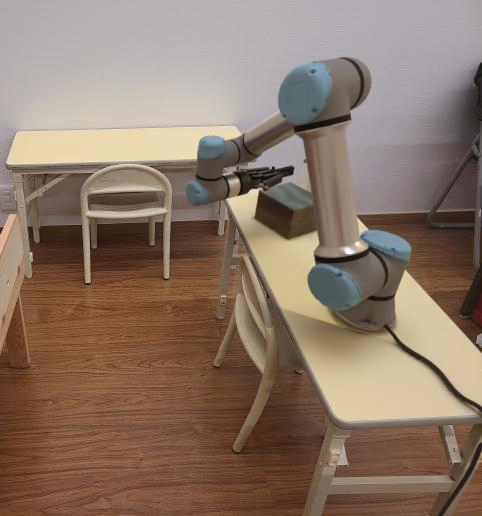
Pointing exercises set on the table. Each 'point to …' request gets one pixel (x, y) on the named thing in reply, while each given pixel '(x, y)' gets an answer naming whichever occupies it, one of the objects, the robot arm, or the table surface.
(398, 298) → the table surface
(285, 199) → the lid
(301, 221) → the chest
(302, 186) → the panda figurine
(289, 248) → the table surface
